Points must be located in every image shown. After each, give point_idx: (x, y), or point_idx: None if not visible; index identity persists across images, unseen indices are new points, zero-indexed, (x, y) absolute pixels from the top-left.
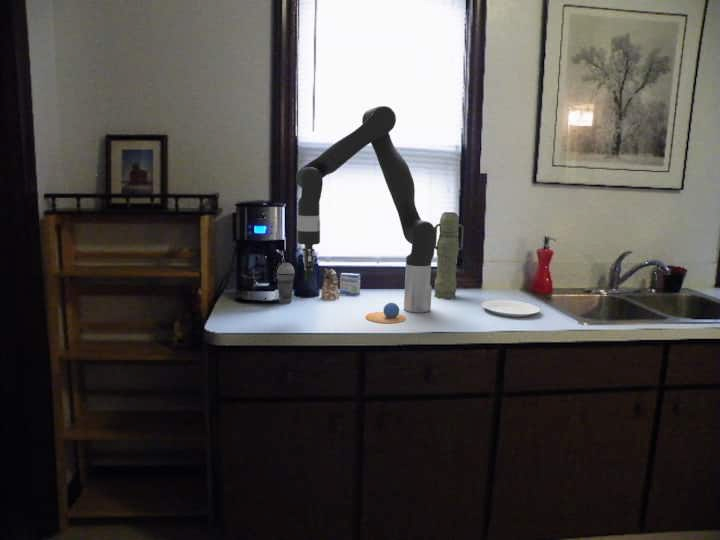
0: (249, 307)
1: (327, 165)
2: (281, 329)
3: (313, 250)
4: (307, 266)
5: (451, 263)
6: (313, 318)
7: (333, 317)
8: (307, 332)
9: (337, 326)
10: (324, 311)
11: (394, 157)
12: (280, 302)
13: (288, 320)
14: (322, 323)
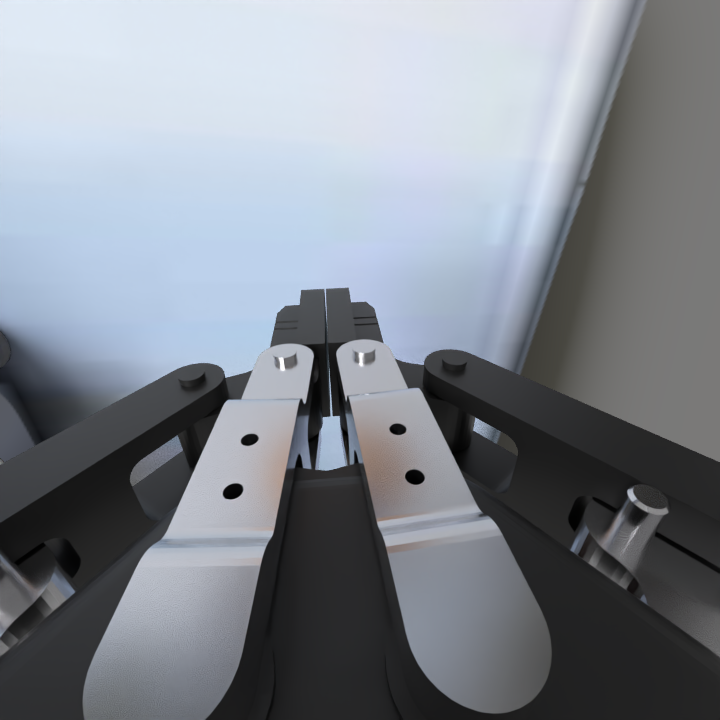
0: (134, 470)
1: None
2: (473, 339)
3: (532, 697)
4: (470, 437)
5: None
6: (300, 185)
7: (271, 31)
8: (548, 229)
9: (487, 28)
10: (115, 91)
11: None
12: (1, 366)
13: None
14: (408, 133)
